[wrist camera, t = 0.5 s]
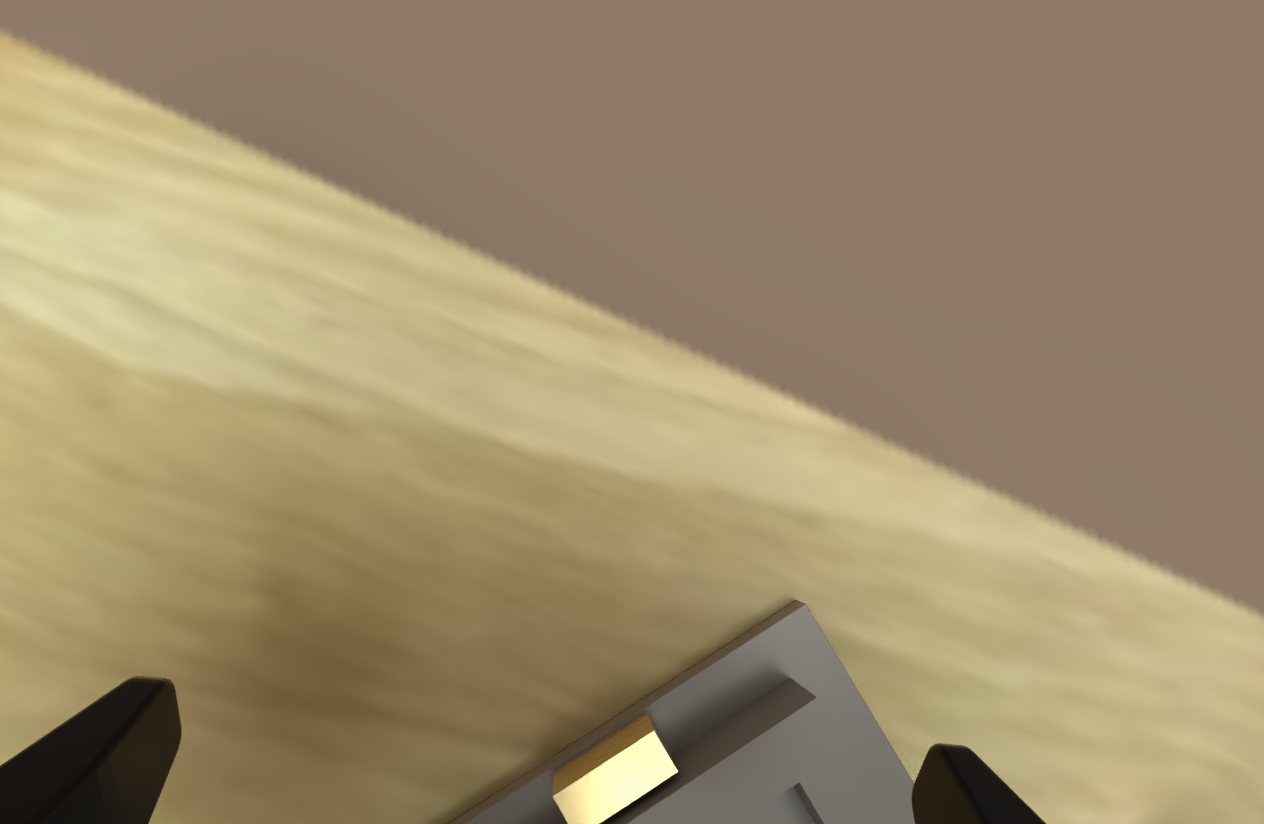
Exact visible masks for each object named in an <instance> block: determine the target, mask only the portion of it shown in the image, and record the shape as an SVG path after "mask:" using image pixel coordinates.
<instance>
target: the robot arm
mask: <svg viewBox="0 0 1264 824" xmlns="http://www.w3.org/2000/svg"><path fill="white" fill-rule="evenodd" d="M180 740H181V722H180V716H179V709H178V703H177V697H176V691H175V687H174V684H173V683H172V681H171V680H169V679H166V678H156V677H144V676H136V677H132V678H130V679H128V680H126V681H124V682H123V683H121V684H120V685H119V686H117V687H116V688H114V689H113V690H111V691H110V692H108V693H107V694H105V695H104V696H102V697H101V698H99V699H98V700H96V701H95V702H93V703H92V704H91V705H89V706H88V707H86V708H85V709H83V710H82V711H80V712H79V713H77V714H76V715H74V716H73V717H71V718H70V719H68V720H67V721H65V722H64V723H63V724H61V725H60V726H58V727H57V728H55V729H54V730H52V731H51V732H49V733H48V734H46V735H45V736H43V737H42V738H40V739H39V740H37V741H36V742H35V743H33V744H32V745H30V746H29V747H27V748H26V749H24V750H23V751H21V752H20V753H18V754H17V755H15V756H14V757H12V758H11V759H9V760H8V761H7V762H5V763H4V764H2V765H1V766H0V824H148V823H149V821H150V818H151V816H152V813H153V811H154V808H155V806H156V803H157V801H158V798H159V796H160V793H161V791H162V788H163V786H164V783H165V781H166V779H167V776H168V774H169V771H170V769H171V766H172V764H173V761H174V759H175V756H176V754H177V751H178V748H179V744H180ZM911 800H912V810H913V815H914V821H915V824H1046V823H1045V822H1044V821H1043V820H1042V819H1041V818H1040V817H1039V816H1038V815H1037V814H1036V813H1035V812H1034V811H1033V810H1032V809H1031V808H1030V807H1029V806H1028V805H1027V804H1026V803H1025V802H1024V801H1023V800H1022V799H1021V798H1020V797H1019V796H1018V795H1017V794H1016V793H1015V792H1014V791H1013V790H1012V789H1011V788H1010V787H1009V786H1008V785H1007V784H1006V783H1005V782H1004V781H1003V780H1002V779H1001V778H999V777H998V776H997V775H996V774H995V773H994V772H993V771H992V770H991V769H990V768H989V767H988V766H987V765H986V764H985V763H984V762H983V761H982V760H981V759H980V758H979V757H978V756H977V755H976V754H975V753H974V752H973V751H972V750H971V749H969V748H968V747H965V746H962V745H952V744H940V743H938V744H934V745H933V746H932V747H930V749H929V751H928V753H927V755H926V757H925V760H924V762H923V765H922V767H921V769H920V772H919V774H918V776H917V779H916V781H915V783H914V786H913V790H912V799H911Z"/></svg>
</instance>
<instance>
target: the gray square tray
mask: <svg viewBox="0 0 1264 824" xmlns="http://www.w3.org/2000/svg"><path fill="white" fill-rule="evenodd" d="M913 786H914V783H913V781H912V779H911V778H910V776H909V774H908V773H907V771H906V769H905V768H904V766H903V764H902V763H901V761H900V759H899V758H898V756H897V755H896V753H895V751H894V750H893V748H892V746H891V745H890V743H889V741H888V740H887V738H886V736H885V735H884V733H883V731H882V730H881V728H880V726H879V725H878V723H877V721H876V720H875V718H874V716H873V715H872V713H871V711H870V710H869V708H868V706H867V705H866V703H865V701H864V700H863V698H862V696H861V695H860V693H859V691H858V690H857V688H856V686H855V685H854V683H853V681H852V680H851V678H850V676H849V675H848V673H847V671H846V670H845V668H844V666H843V665H842V663H841V661H840V660H839V658H838V656H837V655H836V653H835V651H834V650H833V648H832V646H831V645H830V643H829V641H828V640H827V638H826V636H825V635H824V633H823V631H822V630H821V628H820V627H819V625H818V623H817V622H816V620H815V618H814V617H813V615H812V613H811V612H810V610H809V608H808V607H807V605H806V604H805V603H802V602H799V601H797V600H796V601H794V602H793V603H791V604H790V605H788V606H786V607H785V608H783V609H782V610H780V611H779V612H777V613H776V614H774V615H772V616H771V617H769V618H768V619H766V620H765V621H763V622H762V623H760V624H758V625H757V626H755V627H754V628H752V629H751V630H749V631H748V632H746V633H744V634H743V635H741V636H740V637H738V638H737V639H735V640H734V641H732V642H730V643H729V644H727V645H726V646H724V647H723V648H721V649H720V650H718V651H716V652H715V653H713V654H712V655H710V656H709V657H707V658H706V659H704V660H702V661H701V662H699V663H698V664H696V665H695V666H693V667H692V668H690V669H688V670H687V671H685V672H684V673H682V674H681V675H679V676H678V677H676V678H674V679H673V680H671V681H670V682H668V683H667V684H665V685H664V686H662V687H660V688H659V689H657V690H656V691H654V692H653V693H651V694H650V695H648V696H646V697H645V698H643V699H642V700H640V701H639V702H637V703H636V704H634V705H632V706H631V707H629V708H628V709H626V710H625V711H623V712H622V713H620V714H618V715H617V716H615V717H614V718H612V719H611V720H609V721H608V722H606V723H604V724H603V725H601V726H600V727H598V728H597V729H595V730H594V731H592V732H590V733H589V734H587V735H586V736H584V737H583V738H581V739H580V740H578V741H576V742H575V743H573V744H572V745H570V746H569V747H567V748H566V749H564V750H562V751H561V752H559V753H558V754H556V755H555V756H553V757H552V758H550V759H548V760H547V761H545V762H544V763H542V764H541V765H539V766H538V767H536V768H534V769H533V770H531V771H530V772H528V773H527V774H525V775H524V776H522V777H520V778H519V779H517V780H516V781H514V782H513V783H511V784H510V785H508V786H506V787H505V788H503V789H502V790H500V791H499V792H497V793H496V794H494V795H492V796H491V797H489V798H488V799H486V800H485V801H483V802H482V803H480V804H478V805H477V806H475V807H474V808H472V809H471V810H469V811H468V812H466V813H464V814H463V815H461V816H460V817H458V818H457V819H455V820H454V821H452V822H450V823H449V824H915V821H914V815H913V810H912V800H911V799H912V790H913Z"/></svg>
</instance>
